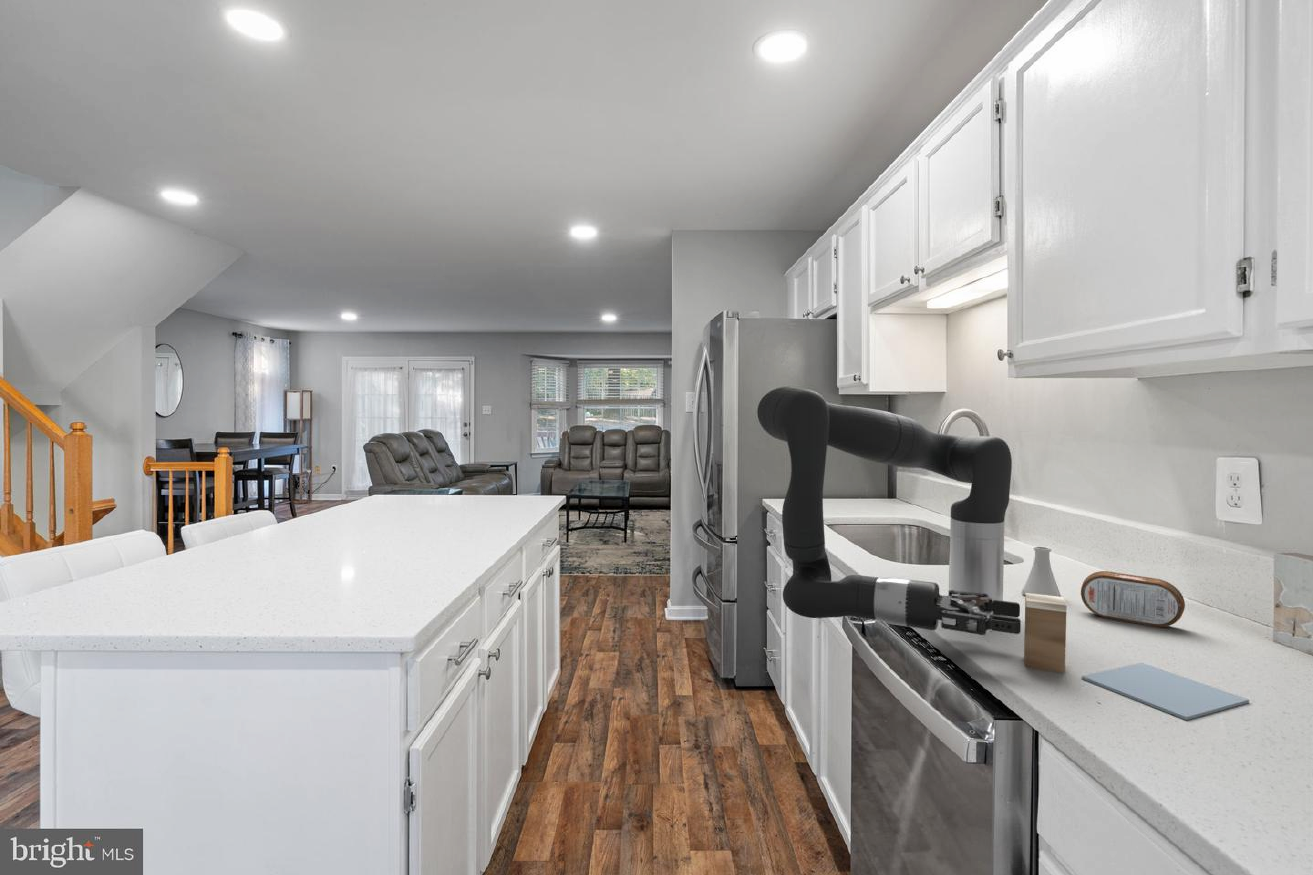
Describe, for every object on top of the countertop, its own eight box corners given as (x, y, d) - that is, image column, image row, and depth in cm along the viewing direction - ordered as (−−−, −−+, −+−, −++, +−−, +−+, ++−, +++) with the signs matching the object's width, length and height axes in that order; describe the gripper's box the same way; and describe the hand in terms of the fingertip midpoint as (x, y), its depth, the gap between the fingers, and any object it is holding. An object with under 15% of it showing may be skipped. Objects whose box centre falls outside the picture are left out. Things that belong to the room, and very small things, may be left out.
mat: (1081, 678, 90) (1081, 675, 90) (1141, 665, 94) (1141, 662, 94) (1186, 720, 77) (1186, 716, 77) (1249, 702, 82) (1249, 699, 82)
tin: (1184, 628, 110) (1185, 581, 110) (1183, 633, 108) (1185, 584, 108) (1081, 610, 120) (1082, 567, 120) (1078, 614, 118) (1079, 570, 118)
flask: (1066, 595, 130) (1067, 547, 130) (1056, 603, 125) (1058, 553, 125) (1026, 588, 135) (1027, 542, 135) (1016, 595, 130) (1017, 547, 130)
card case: (1023, 656, 98) (1025, 592, 97) (1062, 662, 95) (1063, 597, 95) (1024, 666, 94) (1026, 600, 93) (1064, 673, 91) (1066, 605, 91)
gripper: (900, 590, 97) (1021, 606, 89) (912, 570, 110) (1020, 582, 102) (899, 638, 98) (1020, 658, 90) (911, 613, 110) (1019, 628, 102)
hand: (1020, 618), depth 96 cm, fingers open, 8 cm apart
